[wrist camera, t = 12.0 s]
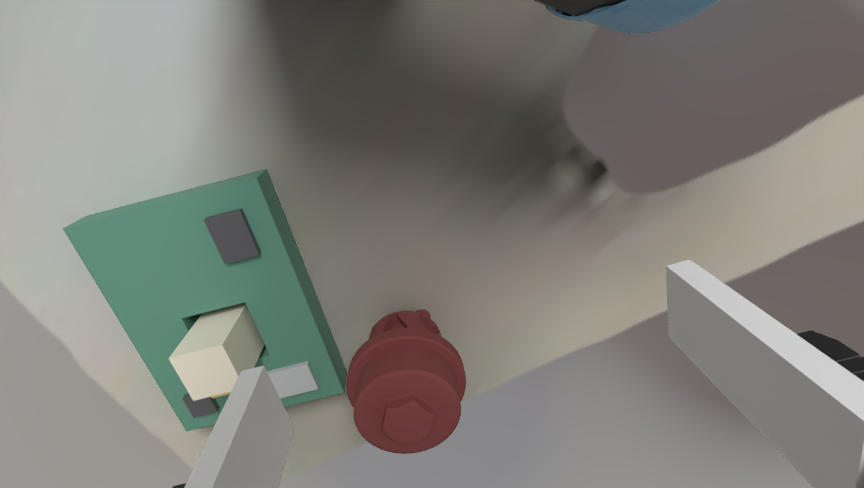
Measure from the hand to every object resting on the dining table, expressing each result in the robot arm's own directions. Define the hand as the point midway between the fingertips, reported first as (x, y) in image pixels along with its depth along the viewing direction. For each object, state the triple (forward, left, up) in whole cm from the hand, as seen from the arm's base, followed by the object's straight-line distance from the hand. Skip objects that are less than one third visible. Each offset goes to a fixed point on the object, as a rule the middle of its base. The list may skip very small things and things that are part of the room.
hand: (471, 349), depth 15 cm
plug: (+10, -21, -27) cm, 35 cm away
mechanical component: (+16, -6, -27) cm, 32 cm away
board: (+8, -21, -27) cm, 35 cm away
